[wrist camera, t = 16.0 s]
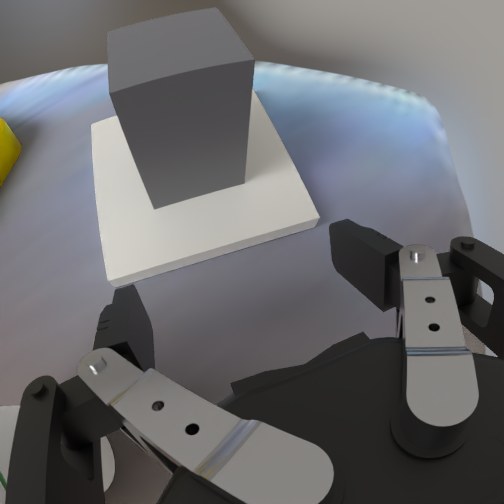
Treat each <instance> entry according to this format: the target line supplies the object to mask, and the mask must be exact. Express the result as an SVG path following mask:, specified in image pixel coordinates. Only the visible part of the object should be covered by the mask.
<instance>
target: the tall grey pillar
mask: <svg viewBox="0 0 504 504" xmlns="http://www.w3.org/2000/svg"><path fill="white" fill-rule="evenodd" d="M107 53H108V79H109V94H110V97H111V100H112V102H113V105H114V108H115V111H116V114H117V117H118V119H119V122H120V125H121V128H122V130H123V133H124V136H125V138H126V141H127V144H128V146H129V149H130V151H131V154H132V157H133V159H134V162H135V164H136V167H137V169H138V172H139V174H140V177H141V179H142V182H143V184H144V187H145V189H146V191H147V194H148V196H149V199H150V201H151V203H152V206H153V208H154V210H155V209H158V208H161V207H165V206H168V205H171V204H174V203H178V202H181V201H184V200H188V199H191V198H195V197H198V196H201V195H205V194H208V193H212V192H215V191H219V190H223V189H226V188H230V187H234V186H237V185H241V184H245V171H246V159H247V146H248V134H249V122H250V110H251V98H252V87H253V75H254V64H255V59H254V58H253V56H252V55H251V53H250V52H249V50H248V49H247V47H246V46H245V45H244V44H243V42H242V41H241V39H240V38H239V37H238V35H237V34H236V32H235V31H234V30H233V28H232V27H231V25H230V24H229V23H228V21H227V20H226V19H225V18H224V16H223V15H222V14H221V12H220V11H219V10H218V8H217V7H216V8H210V9H202V10H196V11H190V12H185V13H180V14H175V15H170V16H165V17H161V18H156V19H152V20H148V21H144V22H140V23H137V24H133V25H129V26H125V27H122V28H119V29H115V30H112V31H109V32H107Z"/></svg>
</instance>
